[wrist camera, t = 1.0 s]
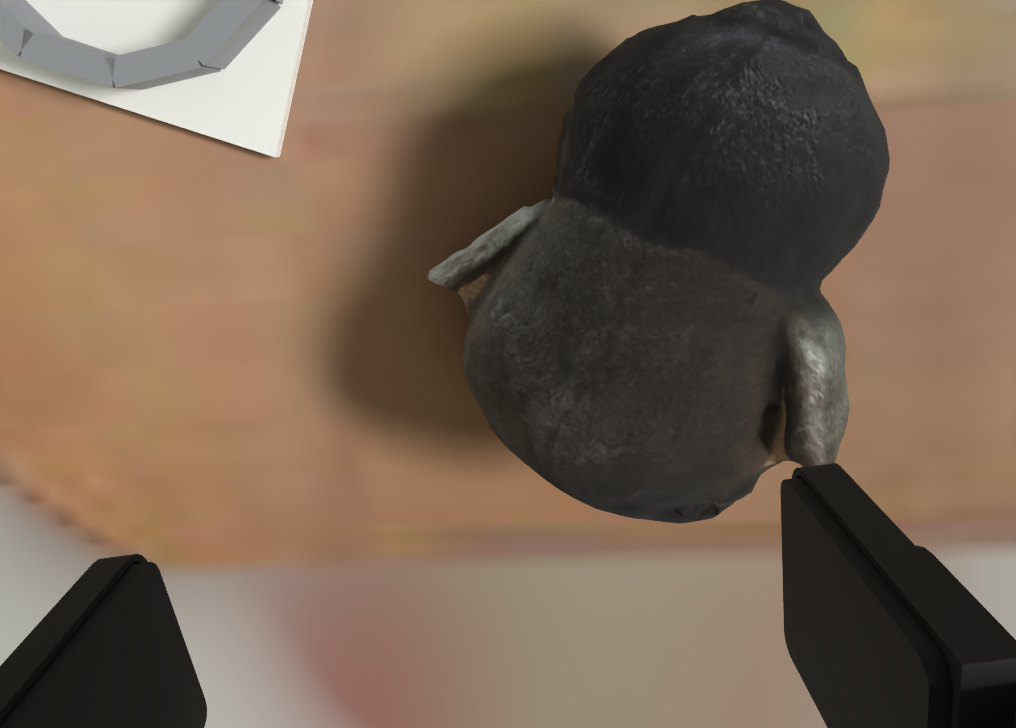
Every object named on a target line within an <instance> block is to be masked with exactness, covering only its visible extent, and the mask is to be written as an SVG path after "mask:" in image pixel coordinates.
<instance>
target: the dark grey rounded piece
mask: <svg viewBox="0 0 1016 728" xmlns="http://www.w3.org/2000/svg"><path fill="white" fill-rule="evenodd" d="M889 162H890V159H889V151H888V145H887V138H886V133H885V129H884V127H883V124H882V122H881V120H880V118H879V116H878V114H877V112H876V110H875V108H874V106H873V104H872V102H871V100H870V97H869V95H868V93H867V90H866V88H865V85H864V82H863V79H862V77H861V74H860V72H859V70H858V68H857V66H855V65H853V64H852V63H850V62H849V61H847V59H846V57H845V55H844V54H843V52H842V50H841V49H840V48H839V46H838V45H837V43H836V42H835V41H834V40H833V39H831V38H830V37H829V36H828V35H827V34H826V33H825V32H824V31H823V30H822V28H821V26H820V25H819V23H818V22H817V20H816V19H815V18H814V16H813V15H812V13H811V12H810V11H809V10H806V9H803V8H800V7H797V6H794V5H792V4H790V3H788V2H785V1H782V0H759V1H751V2H743V3H740V4H737V5H735V6H732V7H729V8H726V9H723V10H721V11H718V12H716V13H714V14H711V15H704V16H696V15H691V16H689V17H687V18H684V19H682V20H679V21H677V22H673V23H669V24H665V25H660V26H656V27H652V28H648V29H646V30H643V31H641V32H639V33H637V34H636V35H634V36H632V37H630V38H627V39H626V40H625V41H623V42H622V43H621V44H620V45H619V46H617V47H616V48H615V49H614V50H612V51H611V52H610V53H609V54H608V55H607V56H606V57H604V58H603V59H602V60H601V61H600V62H599V63H597V64H596V65H595V66H594V67H593V68H592V69H591V70H590V71H589V73H588V74H587V75H586V76H585V77H584V78H583V79H582V80H581V81H580V84H579V86H578V88H577V91H576V94H575V100H574V105H573V106H572V107H571V108H570V109H569V110H568V111H567V114H566V116H565V118H564V120H563V126H562V132H561V136H560V139H559V146H558V154H557V170H558V172H557V176H556V180H555V183H554V186H553V189H552V190H553V196H552V197H551V198H548V199H544V200H541V201H540V202H538V203H537V204H535V205H534V206H532V207H527V206H523V207H522V208H520V209H519V210H518V211H516V212H515V213H513V214H511V215H510V216H508V217H507V218H506V219H505V220H503V221H502V222H500V223H499V224H498V225H497V226H495V227H494V228H492V229H490V230H489V231H487V232H485V233H484V234H482V235H481V236H480V237H477V239H476V240H475V241H474V242H473V243H472V244H471V245H470V246H468V247H467V248H465V249H463V250H460V251H458V252H456V253H454V254H452V255H451V256H450V257H449V258H448V259H446V260H445V261H444V262H442V263H440V264H439V265H437V266H435V267H434V268H432V269H431V270H429V274H428V277H427V278H428V279H429V280H431V281H432V282H434V283H436V284H438V285H441V286H443V287H446V288H448V289H450V290H452V291H454V292H456V293H457V294H458V295H460V296H461V297H462V299H463V301H464V303H465V305H466V313H467V329H466V336H465V340H464V345H463V369H464V373H465V377H466V379H467V382H468V384H469V386H470V389H471V391H472V393H473V395H474V396H475V398H476V400H477V402H478V404H479V406H480V407H481V409H482V411H483V412H484V414H485V416H486V418H487V420H488V422H489V424H490V426H491V428H492V429H493V431H494V432H495V433H496V435H497V436H498V437H499V439H500V440H501V441H502V442H503V444H504V445H505V446H506V447H507V448H509V449H510V450H511V451H512V452H513V453H514V454H515V455H516V456H517V457H518V458H520V459H521V460H522V461H523V462H524V463H525V464H526V465H528V466H529V467H530V468H531V469H533V470H534V471H535V472H536V473H538V474H539V475H540V476H541V477H543V478H544V479H545V480H547V481H548V482H549V483H551V484H552V485H554V486H555V487H556V488H558V489H560V490H561V491H563V492H564V493H566V494H568V495H570V496H571V497H573V498H575V499H577V500H579V501H581V502H583V503H585V504H587V505H589V506H591V507H594V508H596V509H599V510H603V511H607V512H610V513H614V514H617V515H621V516H625V517H630V518H636V519H646V520H654V521H662V522H670V523H687V522H693V521H699V520H705V519H710V518H714V517H716V516H717V515H718V514H720V513H721V512H722V511H723V510H725V509H726V508H728V507H729V506H731V505H732V504H733V503H734V501H737V500H739V499H741V498H743V497H744V496H746V495H747V494H749V493H751V492H752V490H753V488H754V486H755V484H756V482H757V480H758V478H759V477H760V475H761V474H762V473H763V472H765V471H766V470H767V469H769V468H771V467H773V466H774V465H776V464H778V463H780V462H782V461H794V462H796V463H799V464H801V465H802V466H803V467H809V466H816V465H824V464H832V463H835V460H836V456H837V453H838V449H839V445H840V443H841V440H842V437H843V434H844V432H845V429H846V425H847V421H848V413H849V399H848V391H847V384H846V374H845V349H846V344H845V338H844V333H843V329H842V326H841V323H840V321H839V319H838V317H837V315H836V314H835V312H834V311H833V309H832V307H831V306H830V304H829V303H828V301H827V300H826V299H825V298H824V296H823V295H822V294H821V291H820V286H821V283H822V280H823V279H824V278H825V277H826V276H827V275H828V274H829V273H830V272H831V271H832V270H833V269H834V268H835V267H836V266H837V264H838V263H839V262H840V261H841V260H842V259H843V258H844V257H845V256H846V255H847V254H848V253H849V252H850V251H851V250H852V249H853V248H854V247H855V245H856V244H857V243H858V241H859V240H860V238H861V237H862V235H863V234H864V232H865V231H866V229H867V228H868V226H869V225H870V224H871V222H872V221H873V219H874V217H875V215H876V213H877V211H878V209H879V207H880V202H881V197H882V192H883V188H884V184H885V181H886V178H887V174H888V171H889Z"/></svg>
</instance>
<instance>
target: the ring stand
mask: <svg viewBox="0 0 1016 728" xmlns="http://www.w3.org/2000/svg"><path fill="white" fill-rule="evenodd" d="M312 4H313V0H0V69H1V70H5V71H8V72H11V73H14V74H17V75H20V76H23V77H26V78H29V79H33V80H36V81H39V82H42V83H45V84H48V85H51V86H54V87H57V88H61V89H64V90H67V91H70V92H73V93H76V94H79V95H82V96H85V97H89V98H92V99H95V100H98V101H101V102H104V103H107V104H110V105H113V106H117V107H120V108H123V109H126V110H129V111H132V112H135V113H138V114H141V115H145V116H148V117H151V118H154V119H157V120H160V121H163V122H166V123H170V124H173V125H176V126H179V127H182V128H185V129H188V130H191V131H194V132H198V133H201V134H204V135H207V136H210V137H213V138H216V139H219V140H222V141H226V142H229V143H232V144H235V145H238V146H241V147H244V148H247V149H250V150H254V151H257V152H260V153H263V154H266V155H269V156H272V157H280V154H281V150H282V145H283V140H284V136H285V131H286V126H287V122H288V117H289V112H290V107H291V103H292V98H293V93H294V89H295V84H296V79H297V75H298V70H299V65H300V61H301V56H302V51H303V46H304V42H305V37H306V32H307V28H308V23H309V18H310V14H311V9H312Z"/></svg>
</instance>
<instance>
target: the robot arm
mask: <svg viewBox="0 0 1016 728" xmlns="http://www.w3.org/2000/svg"><path fill="white" fill-rule="evenodd" d="M781 522H782V562H783V603H784V633H785V640H786V644H787V648H788V651H789V654H790V656H791V658H792V660H793V662H794V664H795V666H796V668H797V670H798V672H799V674H800V676H801V678H802V680H803V682H804V683H805V685H806V687H807V689H808V691H809V693H810V695H811V697H812V699H813V700H814V703H815V704H816V706H817V708H818V710H819V712H820V714H821V716H822V718H823V720H824V721H825V723H826V725H827V727H828V728H1016V640H1015V639H1014V638H1013V637H1012V636H1011V635H1010V634H1009V633H1008V632H1007V631H1006V630H1005V629H1004V627H1003V626H1002V625H1001V624H1000V623H999V622H998V621H997V620H996V619H995V618H994V617H993V616H992V615H991V614H990V613H989V612H988V611H987V610H986V609H985V608H984V607H983V606H982V605H981V604H980V603H979V602H978V601H977V599H976V598H975V597H974V596H973V595H972V594H971V593H970V592H969V591H968V590H967V589H966V588H965V587H964V586H963V585H962V584H961V583H960V582H959V581H958V580H957V579H956V578H955V577H954V576H953V575H952V574H951V573H950V572H949V571H948V569H947V568H946V567H945V566H944V565H943V564H942V563H941V562H940V561H939V560H938V559H937V558H936V557H935V556H934V555H933V554H932V553H931V552H929V551H928V550H927V549H926V548H924V547H920V546H915V545H914V544H913V543H912V542H911V541H910V540H909V539H908V537H907V536H906V535H905V534H904V533H903V532H902V531H901V530H900V529H899V528H898V527H897V526H896V525H895V524H894V523H893V522H892V521H891V519H890V518H889V517H888V516H887V515H886V514H885V513H884V512H883V511H882V510H881V509H880V508H879V507H878V506H877V505H876V504H875V503H874V501H873V500H872V499H871V498H870V497H869V496H868V495H867V494H866V493H865V492H864V491H863V490H862V489H861V488H860V487H859V486H858V485H857V483H856V482H855V481H854V480H853V479H852V478H851V477H850V476H849V475H848V474H847V473H846V472H845V471H844V470H843V469H842V468H841V467H840V466H839V465H838V464H836V463H832V464H824V465H816V466H809V467H801V468H796V469H795V470H794V471H793V475H792V479H786V480H783V481H782V484H781ZM206 717H207V707H206V701H205V698H204V695H203V692H202V689H201V686H200V684H199V681H198V678H197V675H196V672H195V669H194V667H193V664H192V661H191V658H190V655H189V653H188V649H187V647H186V644H185V641H184V638H183V636H182V633H181V630H180V627H179V624H178V621H177V618H176V616H175V613H174V610H173V607H172V604H171V602H170V599H169V596H168V593H167V590H166V587H165V584H164V582H163V579H162V576H161V573H160V571H159V569H158V567H157V565H156V564H155V563H152V562H147V560H146V559H145V558H144V557H143V556H142V555H139V554H133V555H126V556H118V557H110V558H103V559H98V560H97V561H96V562H94V563H93V564H92V565H91V566H90V567H89V569H88V570H87V571H86V572H85V573H84V574H83V575H82V576H81V577H80V579H79V580H78V581H77V582H76V583H75V584H74V585H73V586H72V587H71V589H70V590H69V591H68V592H67V593H66V594H65V595H64V596H63V597H62V598H61V600H60V601H59V602H58V603H57V604H56V605H55V606H54V607H53V608H52V609H51V611H50V612H49V613H48V614H47V615H46V616H45V617H44V618H43V619H42V621H41V622H40V623H39V624H38V625H37V626H36V627H35V628H34V629H33V630H32V632H31V633H30V634H29V635H28V636H27V637H26V638H25V639H24V640H23V642H22V643H21V644H20V645H19V646H18V647H17V648H16V649H15V650H14V652H13V653H12V654H11V655H10V656H9V657H8V658H7V659H6V661H4V663H3V664H2V665H1V666H0V728H204V726H205V722H206Z"/></svg>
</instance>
